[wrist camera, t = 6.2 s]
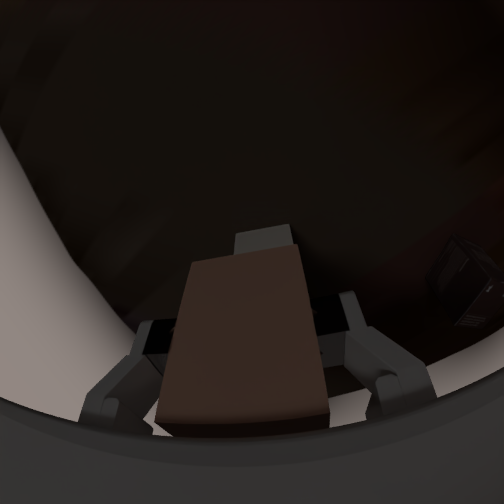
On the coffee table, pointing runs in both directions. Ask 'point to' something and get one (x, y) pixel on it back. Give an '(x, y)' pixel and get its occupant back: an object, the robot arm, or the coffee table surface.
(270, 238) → the domino
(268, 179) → the coffee table surface
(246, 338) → the domino
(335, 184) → the coffee table surface
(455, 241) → the box
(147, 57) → the coffee table surface
